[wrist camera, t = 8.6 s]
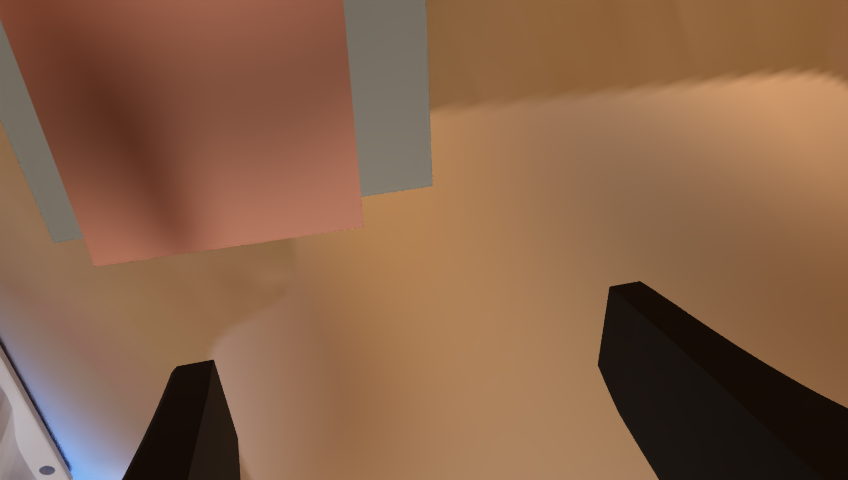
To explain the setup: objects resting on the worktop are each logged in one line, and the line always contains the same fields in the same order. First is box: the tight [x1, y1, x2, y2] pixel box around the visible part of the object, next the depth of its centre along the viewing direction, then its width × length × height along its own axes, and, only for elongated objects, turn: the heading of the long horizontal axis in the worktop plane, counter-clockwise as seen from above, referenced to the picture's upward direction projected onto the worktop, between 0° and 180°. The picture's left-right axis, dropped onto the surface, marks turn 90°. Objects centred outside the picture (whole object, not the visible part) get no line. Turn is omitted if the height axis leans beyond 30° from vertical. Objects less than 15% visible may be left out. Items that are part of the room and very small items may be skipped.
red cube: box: [0, 0, 364, 266], centre depth 14 cm, size 5×5×5 cm
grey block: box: [0, 0, 432, 243], centre depth 17 cm, size 10×10×4 cm
